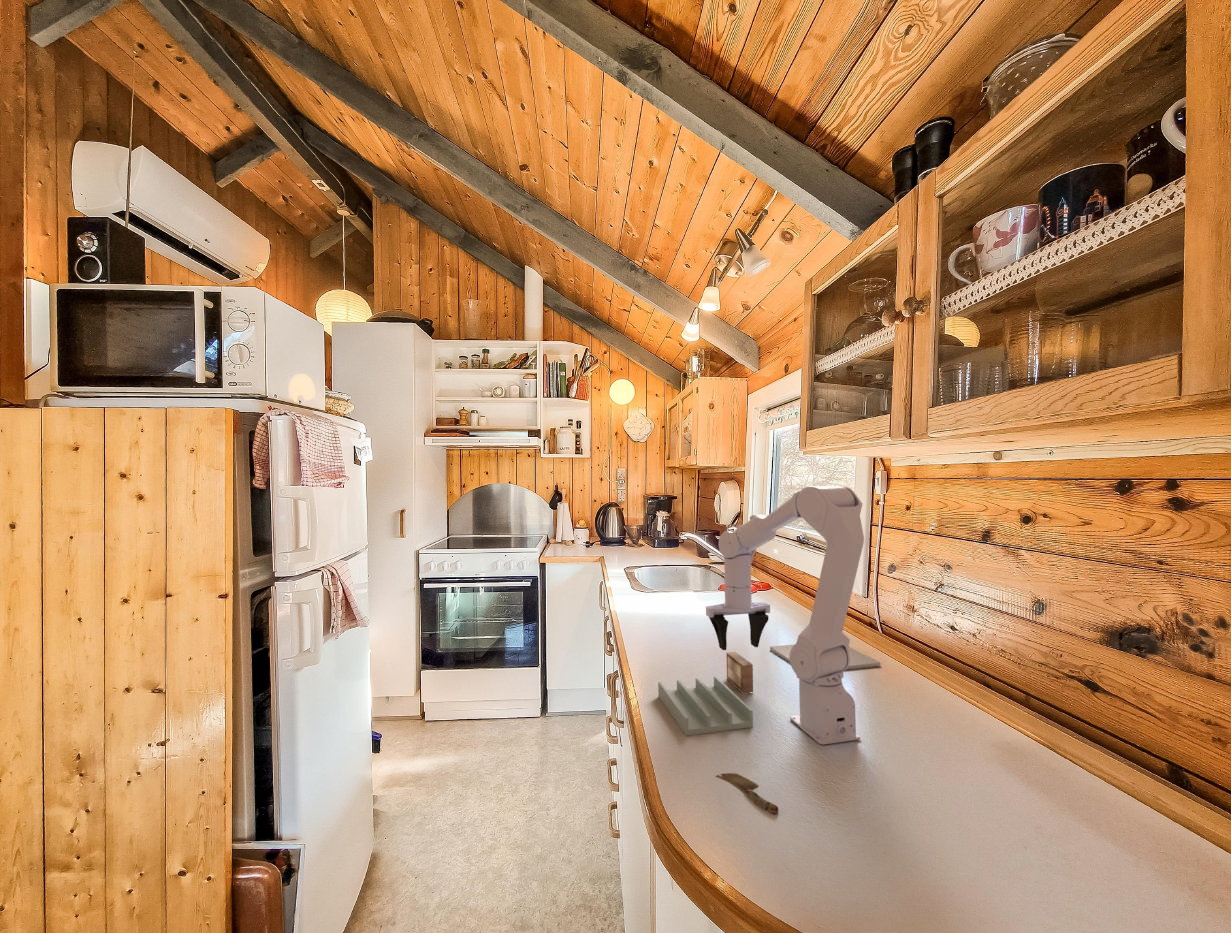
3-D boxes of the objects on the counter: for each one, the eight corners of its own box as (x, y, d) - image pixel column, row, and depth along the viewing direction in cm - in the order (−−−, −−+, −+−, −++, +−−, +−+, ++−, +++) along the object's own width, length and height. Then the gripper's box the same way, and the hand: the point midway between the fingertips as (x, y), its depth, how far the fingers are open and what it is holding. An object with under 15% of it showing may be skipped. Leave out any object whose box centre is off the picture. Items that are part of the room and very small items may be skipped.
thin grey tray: (770, 646, 128) (836, 640, 132) (770, 652, 128) (836, 646, 132) (806, 669, 112) (880, 662, 116) (806, 676, 112) (880, 668, 116)
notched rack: (752, 726, 88) (752, 710, 88) (685, 735, 85) (685, 718, 85) (716, 690, 104) (715, 675, 104) (658, 696, 101) (658, 681, 101)
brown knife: (738, 768, 77) (710, 775, 75) (737, 760, 77) (709, 767, 75) (784, 813, 65) (752, 823, 64) (784, 804, 66) (752, 813, 64)
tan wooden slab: (753, 693, 102) (752, 664, 103) (742, 694, 102) (742, 665, 102) (735, 678, 110) (735, 651, 110) (726, 679, 110) (725, 652, 110)
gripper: (758, 579, 112) (759, 638, 112) (700, 583, 109) (700, 643, 109) (774, 586, 105) (775, 649, 105) (713, 590, 102) (714, 654, 102)
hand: (738, 647), depth 106 cm, fingers open, 7 cm apart
